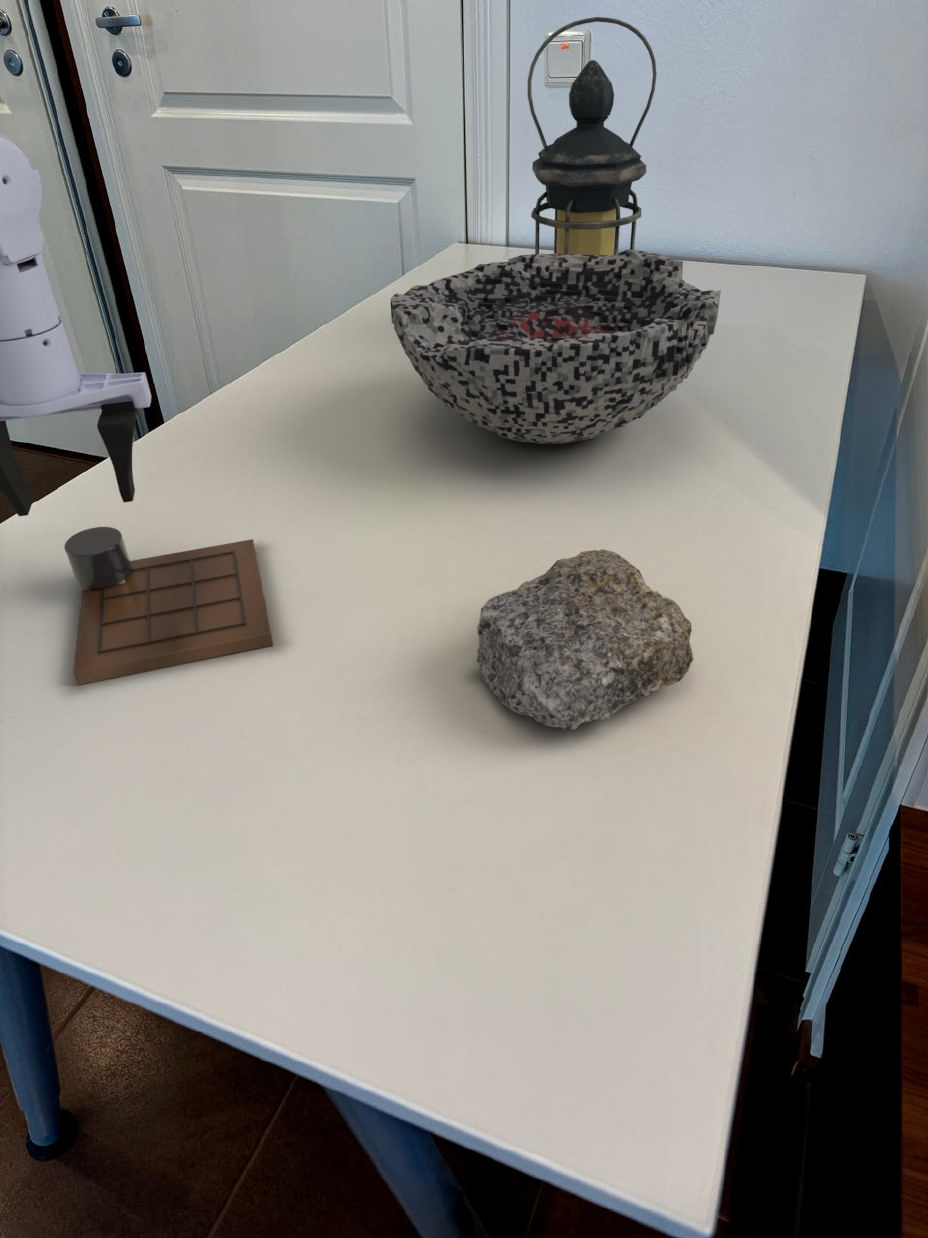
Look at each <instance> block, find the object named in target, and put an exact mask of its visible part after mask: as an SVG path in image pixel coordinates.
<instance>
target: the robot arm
mask: <svg viewBox="0 0 928 1238" xmlns="http://www.w3.org/2000/svg"><path fill="white" fill-rule="evenodd" d="M42 199H43V189H42V180H41V176H40V172H39V170H38V169H33V167H32V166H31V164H30V162H29V160H28V158H27V157H26V155H25V154H24V153H23V151H22V150H21V149H20V148H19V147H18V146H17V144H15V143H14V141H12V140H11V139H10V138H9V137H8V136H6V134H4V133H3V132H1V131H0V493H1V494H2V495H3V496H4V498H6V500H7V501H8V502H9V505H11V507H12V508H13V510H14V511H15V513H16V515H17V516H18V517H26V516H29V513H30V511H31V508H32V505H33V500H32V499H33V498H32V496H31V493H30V489H29V487H28V485H27V482H26V479H25V477H24V475H23V473H22V470H21V468H20V466H19V464H18V463H19V462H18V460H17V459H16V455H15V452H14V447H13V445H12V440H11V437H10V434H9V428H8V425H7V421H14V420H21V419H30V418H39V417H45V416H46V417H47V416H48V417H49V416H53V415H54V416H56V415H63V414H65V415H66V414H71V413H81V412H89V411H97V410H98V411H99V410H100V411H101V413H100V415H99V417H98V421H97V424H96V429H97V431H98V434H99V435H100V437H101V439H102V442H103V444H104V446H105V449H106V451H107V453H108V456H109V459H110V461H111V464H112V466H113V470H114V475H115V479H116V483H117V487H118V488H117V489H118V492H119V494H120V497H121V500H122V502H123V503H131V502H133V501H134V499H135V492H136V489H135V482H134V473H133V445H134V435H135V429H136V428H135V427H136V420H137V415H138V411H139V409H145V408H150V406H151V403H152V394H151V389H150V386H149V382H148V377H147V374H146V372H144V371H143V372H131V373H130V372H129V373H104V372H103V373H97V372H93V373H92V372H79V371H78V368H77V364H76V361H75V359H74V355H73V352H72V349H71V346H70V341H69V339H68V336H67V333H66V330H65V327H64V323H63V320H62V317H61V314H60V310H59V307H58V304H57V301H56V298H55V294H54V290H53V288H52V285H51V281H50V278H49V275H48V271H47V268H46V266H45V265H46V264H45V262H44V259H43V256H42V254H41V253H43V251H44V247H43V243H45V240H44V236H43V232H42V229H41V226H40V210H41V205H42Z"/></svg>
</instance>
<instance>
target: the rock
mask: <svg viewBox="0 0 928 1238" xmlns="http://www.w3.org/2000/svg"><path fill="white" fill-rule="evenodd" d="M692 631H693V628H692V621H690V620H689V619H688V618H687V617H686V615H685V614H684V612H683V611H682V609H681V607H680V606H679V605H678V604H677V602H675V601H674V600H673V599H671V598H669V597H667V596H664V595H662V594H661V593H660V592H659V591H658V590H655V591H654V590H653V589H652V588H650V586H648V585H647V583H646V582H645V579H644V576H643V575H642V572H641V571H640V570H639V569H638V568H637V567H636V566H635V565H633V564H632V563H630V562H629V561H628V560H627V559H626V558H624V557H623V556H622V555H620V554H618V553H617V552H615V551H611V550H607V549H604V548H603V549H598V550H596V549H593V550H584V551H580V553H578V554H577V555H575V556H573V557H568V558H561V559H557V560H556V561H555V562H554V563H553V565H552V566H551V567H549V569H548V570H547V571H546V572H545V573H543V574H541V575H539V576H537V577H534V578H533V579H531V580H528V581H527V580H526V581H524V582H523V583H521V584H520V585H519V586H518V588H517V589H513V590H510V591H506V592H503V593H500V594H498V595H494V596H493V597H492V598H489V599H488V600H487V601H486V602H485V604H484V605H483V606H481V607H480V617H479V622H478V624H477V635H478V637H479V639H478V648H477V650H476V651H477V657H476V662H477V664H478V668H479V673H480V674H481V676H482V678H483V680H484V682H485V683H486V684H487V685H488V688H489V689H490V690H491V691H492V692H493V694H494V696H496V697H497V698H499V701H500V702H501V703H502V704H503V705H504V707H506V708H507V709H509V710H510V711H511V712H512V713H516V714H519V715H520V716H521V717H523V716H529V717H531V718H533V719H534V720H535V721H536V722H538V723H540V724H542V725H544V726H546V727H550V728H561V729H563V730H576V729H578V727H579V725H581V724H583V723H590V722H592V721H594V720H598V721H599V720H601V721H608V720H609V719H610V718H612V717H613V716H614V715H616V713H617V712H618V711H620V709H622V708H623V707H624V706H625V705H631V704H632V703H633V702H637V701H640V700H642V699H644V698H646V697H648V696H650V695H652V694H653V693H656V692H658V691H660V690H661V689H663V688H665V687H669V686H671V685H674V684H676V683H678V682H681V681H682V680H683V678H684V677H685V675H686V674H687V673H688V672H689V669H690V667H691V665H692V663H693V661H694V654H693V649H692V647H691V643H690V641H691V635H692Z"/></svg>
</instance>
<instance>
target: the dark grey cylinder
mask: <svg viewBox="0 0 928 1238" xmlns="http://www.w3.org/2000/svg"><path fill="white" fill-rule="evenodd" d="M64 552H65V554H66V557H67V559H68V563H69V565H70V568H71V571H72V573H73V575H74V579H75V581H76V583H77V584H78V585H79V586H80V587H81V588H82V587H84V588H89V589H100V588H106V587H109V586H113V585H115V584H117V583H119V582H121V581H123V580H124V579H126V578H127V577H128V576H129V575H130V573H131V571H132V565H131V562H130V561H131V559H130V556H129V553H128V550H127V547H126V544H125V541H124V538H123V534H122V532H121V531H120V530H118V529H117V528H115V527H112V526H111V527H110V526H96V527H90V528H87V529H84V530H81V531H78V532H77V533H75V534H73V535H71V536H70V537H69V538H68V539H67V540H66V541H65V543H64Z"/></svg>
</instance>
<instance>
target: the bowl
mask: <svg viewBox="0 0 928 1238" xmlns="http://www.w3.org/2000/svg"><path fill="white" fill-rule="evenodd" d="M683 268H684V261H683V260H681V259H672V258H670V257H668V256H666V255H662V254H659V253H652V252H651V253H650V252H648V251H644V250H636V249H634V250H630V249H628V248H627V249H624V250H623V251H621V252H618V254H617V255H614V254H613V255H579V254H554V253H539V254H535V253H533V254H522V255H521V254H520V255H517V256H514V257H511V258H509V259H508V261H492V262H490V263H489V262H488V263H481V264H478V265H476V266H475V267H473V268H471V269H468V270H465V271H463V272H459V273H455V274H452V275H449V276H446V277H442V278H439V279H436V280H434V281H432V282H430V283H429V284H423V285H421V284H420V285H413V286H412V287H411V288H410V289H408V290H407V291H406V292H404V293H403V294H402V293H398V292H395V294H393V295H392V296H391V297H390V299H389V300H390V316H391V318H390V320H391V325H393V329H394V332H395V334H396V336H397V338H398V340H399V343H400V344H401V347H402V350H403V351H404V354H405V355H406V357H407V358H408V359H409V361H410V363H411V365H412V367H413V369H414V371H415V372H416V373H417V374H418V375H419V377H420V378H421V379H422V381H423V383H424V384H425V385H426V386H427V388H428V390H429V392H431V393H432V394H433V395H434V396H435V397H436V399H438V400H440V401H441V402H443V403H444V404H445V406H446V407H447V408H449V409H450V410H452V411H453V412H455V413H456V414H457V415H459V416H460V417H462V418H464V419H465V420H466V421H468V422H470V423H472V424H473V425H475V426H477V427H479V428H482V429H485V430H487V431H488V433H494V434H496V435H497V436H499V437H500V438H502V439H509V440H512V441H515V442H519V443H530V444H531V443H532V444H540V445H564V444H570V443H575V442H576V443H578V442H581V441H588V440H592V439H596V438H598V437H599V436H601V435H603V434H606V433H608V432H612V431H614V430H616V429H620V428H623V427H625V426H626V425H627V424H629V423H631V422H633V421H635V420H637V419H638V420H639V419H641V418H642V417H643V416H644V415H645V414H646V413H647V412H648V411H649V410H651V409H652V408H654V407H656V406H658V404H659V403H661V402H662V401H663V400H664V399H665V398H667V396H668V395H669V394H670V393H671V392H674V391H677V389H678V385H680V384H682V383H683V381H684V380H686V379H688V378H689V376H690V374H691V373H692V372H693V369H694V366H695V363H696V362H698V361H699V360H700V359H701V357H702V354H703V353H702V352H703V351H705V350H706V349H707V348H708V344H709V342H710V338H711V336H713V335H714V334H715V329H716V325H717V321H718V316H719V308H720V301H721V300H720V299H721V291H722V290H714V289H708V290H701V289H699V288H697V287H696V286H694V285H692V284H690V283H688V282H686V281H685V280H684V279H683V272H684V270H683Z"/></svg>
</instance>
